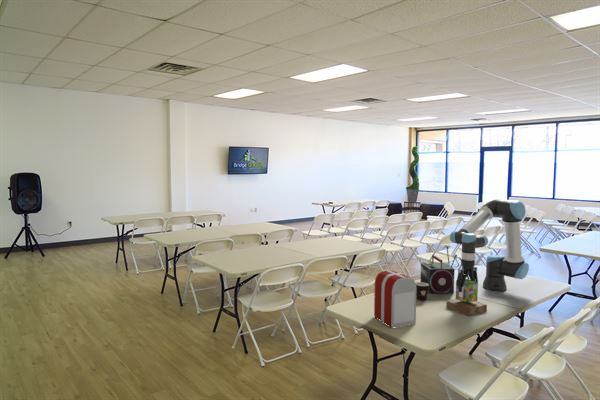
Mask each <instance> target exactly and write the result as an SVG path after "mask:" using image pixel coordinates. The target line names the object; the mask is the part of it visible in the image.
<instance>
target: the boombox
mask: <svg viewBox="0 0 600 400" xmlns="http://www.w3.org/2000/svg"><path fill="white" fill-rule="evenodd" d="M449 247H450V246H449V245H445V248H446V256H447V263H448V264H447V263H445V262H443V260H442V259H441V258H439V257H438V256H436V255H435V254H431V262H427V261H424V262H420V281H419V282H424V283H427V284H429V286H428V293H427V294H429V295H432V294H433V295H435V294H436V295H439V294H441V295H442V294H443V295H444V294H446V295H447V294H449V295H450V294H455V268H453V265H454V263H455V260H456V258H457V257H458V254H454V255H453V259H452V263H451V262H450V256H449ZM434 260H436V261H437V262H434ZM450 264H451V265H450Z"/></svg>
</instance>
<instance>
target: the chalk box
mask: <svg viewBox="0 0 600 400" xmlns="http://www.w3.org/2000/svg"><path fill="white" fill-rule="evenodd" d="M456 282H457V279H456V281H455V283H456ZM463 287H464V294H463V298H462V297H459V286H457V285H456V284H455V299H458V300H461V301H464V302H467V303H469V302H473V301H478V297H479V296H478V295H479V293H478V292H479V291H478V290H479V281H478V282H475V281H472V280H470V277H469V275H468V276H467V277H466V279H465V282H464V284H463Z"/></svg>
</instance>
